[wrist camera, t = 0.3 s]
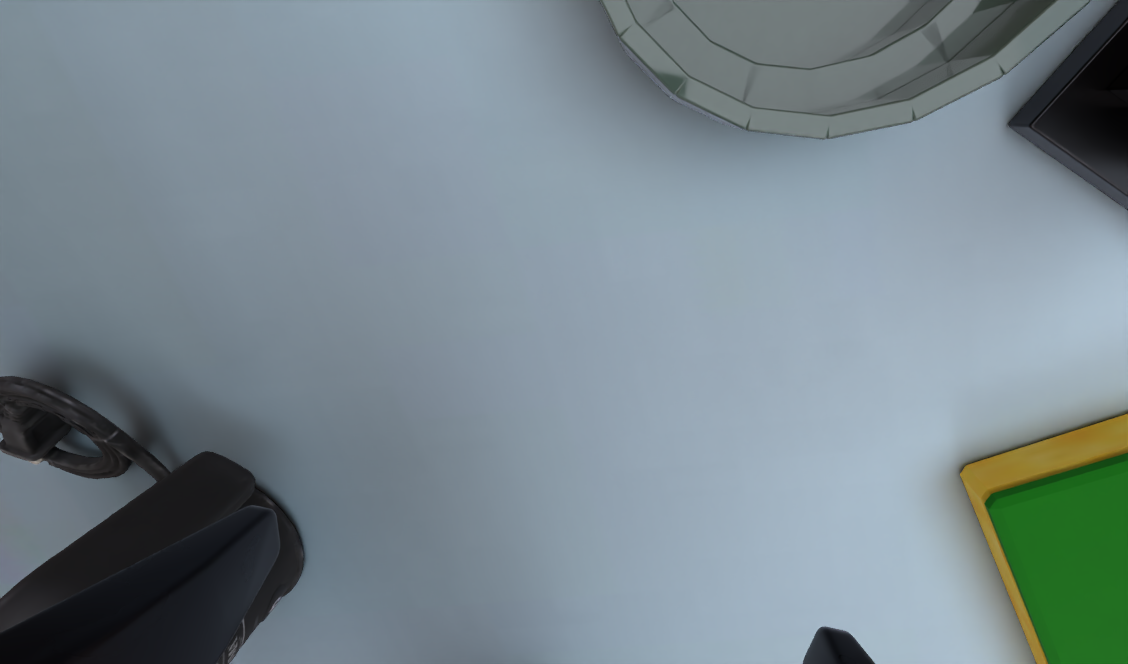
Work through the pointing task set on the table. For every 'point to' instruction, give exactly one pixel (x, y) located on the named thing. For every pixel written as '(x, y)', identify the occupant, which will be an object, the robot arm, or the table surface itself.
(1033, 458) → the dish sponge
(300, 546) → the milk frother
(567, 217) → the table surface
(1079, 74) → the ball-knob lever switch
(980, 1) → the basin
